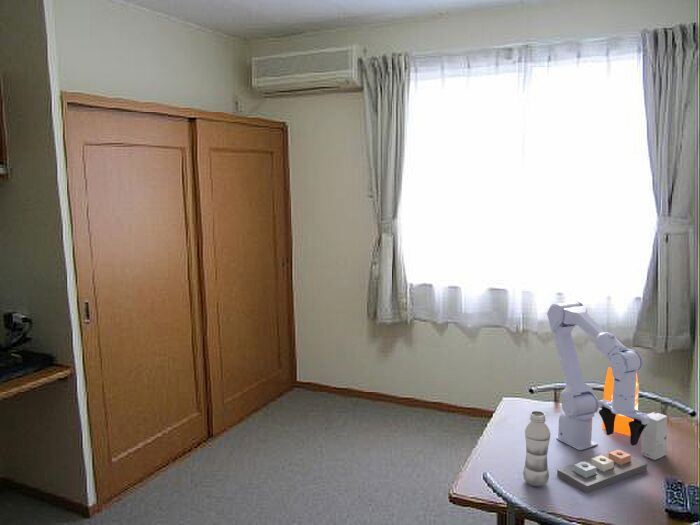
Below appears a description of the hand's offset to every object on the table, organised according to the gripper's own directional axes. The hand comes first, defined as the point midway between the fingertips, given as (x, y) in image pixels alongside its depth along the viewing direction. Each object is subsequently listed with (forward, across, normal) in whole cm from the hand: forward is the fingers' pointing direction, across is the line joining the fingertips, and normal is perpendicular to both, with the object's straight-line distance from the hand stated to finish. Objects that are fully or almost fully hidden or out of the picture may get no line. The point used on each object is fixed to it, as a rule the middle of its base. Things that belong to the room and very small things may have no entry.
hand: (621, 439), depth 163 cm
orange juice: (+9, -17, +22) cm, 29 cm away
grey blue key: (+6, -1, -14) cm, 16 cm away
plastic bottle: (+9, -6, -27) cm, 29 cm away
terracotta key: (+6, 0, 0) cm, 6 cm away
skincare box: (+9, 0, +15) cm, 17 cm away
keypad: (+8, 0, -7) cm, 11 cm away
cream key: (+6, 0, -7) cm, 10 cm away
